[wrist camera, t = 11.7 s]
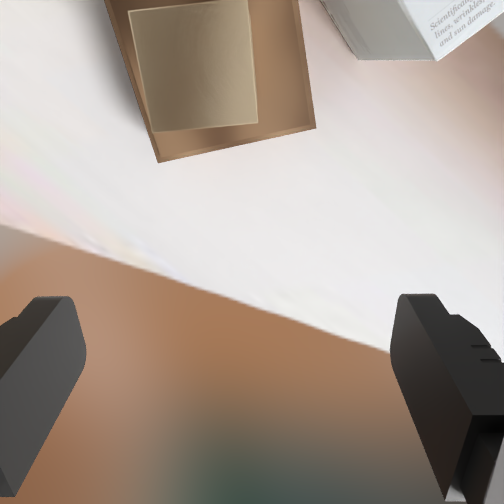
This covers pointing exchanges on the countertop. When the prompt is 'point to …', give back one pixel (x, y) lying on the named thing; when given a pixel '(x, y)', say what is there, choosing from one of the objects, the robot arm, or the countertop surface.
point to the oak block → (196, 64)
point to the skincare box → (409, 26)
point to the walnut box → (266, 73)
